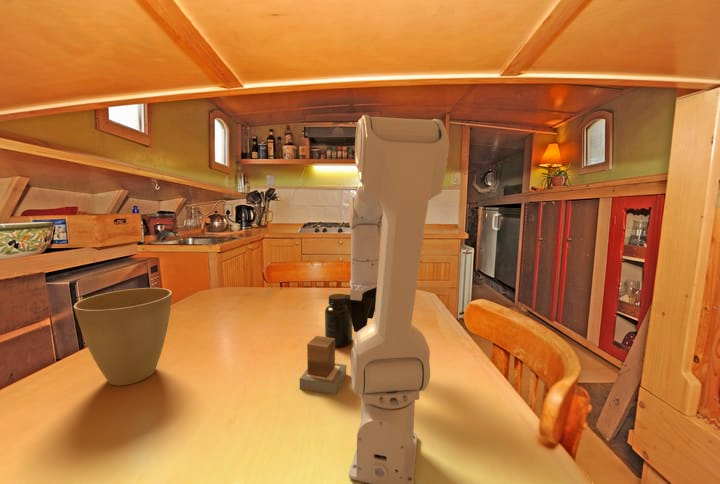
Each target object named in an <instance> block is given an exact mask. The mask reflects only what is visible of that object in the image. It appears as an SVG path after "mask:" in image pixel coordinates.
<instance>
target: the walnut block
mask: <svg viewBox="0 0 720 484" xmlns="http://www.w3.org/2000/svg"><path fill="white" fill-rule="evenodd" d="M306 345H307V346H306V347H307V359H306V360H307V361H306V362H307V369H308V374H309V375H314V376H320V377H325V378H327V377H328V376H329V374H330V373H331V372H332V370H333V369H334V368H335V363H336V348H335V338H329V337H325V336H322V335H321V336H320V335H316V336H314V337H313V338H312V339H311V340H310V341H309V342H308V343H307V344H306Z"/></svg>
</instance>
